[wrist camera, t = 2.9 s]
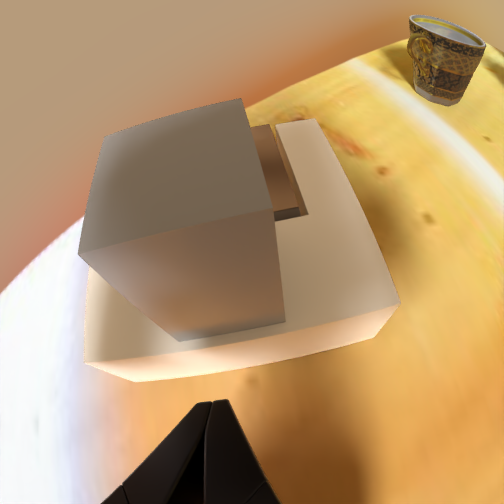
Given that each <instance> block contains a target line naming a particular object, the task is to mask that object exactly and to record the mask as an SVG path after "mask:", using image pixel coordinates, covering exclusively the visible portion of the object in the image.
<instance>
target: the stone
mask: <svg viewBox="0 0 504 504" xmlns="http://www.w3.org/2000/svg"><path fill="white" fill-rule="evenodd" d="M78 255H79V256H80V257H81V258H82V259H83V260H84V261H85V262H86V263H87V264H88V265H89V266H90V267H91V268H93V269H94V270H95V271H96V272H97V273H98V274H99V275H100V276H101V277H102V278H103V279H104V280H105V281H107V282H108V283H109V284H110V285H111V286H112V287H113V288H114V289H115V290H117V291H118V292H119V293H120V294H121V295H122V296H123V297H125V298H126V299H127V300H128V301H129V302H130V303H132V304H133V305H134V306H135V307H136V308H137V309H139V310H140V311H141V312H142V313H143V314H145V315H146V316H147V317H148V318H149V319H151V320H152V321H153V322H154V323H156V324H157V325H158V326H159V327H160V328H162V329H163V330H164V331H165V332H167V333H168V334H169V335H171V336H172V337H173V338H174V339H176V340H177V341H178V342H181V341H188V340H194V339H200V338H206V337H212V336H217V335H223V334H229V333H234V332H239V331H244V330H250V329H255V328H260V327H265V326H269V325H274V324H279V323H284V322H286V319H285V310H284V300H283V291H282V281H281V272H280V263H279V255H278V246H277V237H276V229H275V221H274V213H273V206H272V203H271V199H270V195H269V192H268V188H267V185H266V181H265V177H264V174H263V170H262V167H261V163H260V160H259V156H258V153H257V149H256V146H255V142H254V139H253V136H252V132H251V129H250V125H249V122H248V119H247V115H246V112H245V109H244V106H243V102H242V99H241V98H239V99H234V100H230V101H225V102H220V103H216V104H212V105H208V106H203V107H200V108H195V109H191V110H187V111H184V112H180V113H176V114H173V115H169V116H166V117H162V118H159V119H156V120H152V121H149V122H146V123H143V124H140V125H137V126H134V127H131V128H128V129H125V130H122V131H119V132H116V133H113V134H111V135H108V136H105V137H104V141H103V144H102V147H101V151H100V154H99V158H98V161H97V165H96V169H95V173H94V177H93V181H92V185H91V189H90V193H89V198H88V202H87V207H86V211H85V216H84V221H83V227H82V232H81V238H80V244H79V250H78Z"/></svg>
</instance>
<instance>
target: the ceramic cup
mask: <svg viewBox="0 0 504 504" xmlns="http://www.w3.org/2000/svg"><path fill="white" fill-rule="evenodd" d="M409 24H410V35H411V36H410V38H409V41H408V44H407V50H408V53H409V55H410V56H411V57H412V58H413V82H414V86H415V90H416V92H417V93H418V94H420V95H421V96H423V97H424V98H426V99H427V100H428V101H430V102H434V103H438V104H441V105H445V106H451V105H454V104H456V103H458V102H459V101H460V99H461V98H462V96H463V94H464V92H465V90H466V88H467V86H468V84H469V82H470V80H471V78H472V76H473V73H474V72H475V70H476V68H477V67H478V65H479V63H480V60H481V58H482V56H483V54H484V51H485V48H486V44H485V42H484V41H483V40H482V39H481V38H480V37H478V36H477V35H475V34H474V33H472V32H471V31H469V30H467V29H465V28H463V27H461V26H459V25H456V24H454V23H451V22H448V21H445V20H442V19H439V18H435V17H430V16H425V15H412V16H410V17H409Z"/></svg>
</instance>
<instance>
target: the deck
mask: <svg viewBox="0 0 504 504" xmlns="http://www.w3.org/2000/svg"><path fill="white" fill-rule="evenodd" d="M275 128H276V138H277V147H278V149H279V152H280V155H281V158H282V160H283V163H284V166H285V169H286V172H287V174H288V177H289V180H290V183H291V186H292V189H293V192H294V195H295V197H296V200H297V203H298V206H299V209H300V213H301V217H296V218H291V219H286V220H281V221H276V222H275V229H276V237H277V246H278V255H279V263H280V272H281V281H282V291H283V300H284V310H285V319H286V322H284V323H279V324H274V325H269V326H265V327H260V328H255V329H250V330H244V331H239V332H234V333H229V334H223V335H217V336H212V337H206V338H200V339H194V340H188V341H181V342H178V341H177V340H176V339H174V338H173V337H172V336H171V335H169V334H168V333H167V332H165V331H164V330H163V329H162V328H160V327H159V326H158V325H157V324H156V323H154V322H153V321H152V320H151V319H149V318H148V317H147V316H146V315H145V314H143V313H142V312H141V311H140V310H139V309H137V308H136V307H135V306H134V305H133V304H132V303H130V302H129V301H128V300H127V299H126V298H125V297H123V296H122V295H121V294H120V293H119V292H118V291H117V290H115V289H114V288H113V287H112V286H111V285H110V284H109V283H108V282H107V281H105V280H104V279H103V278H102V277H101V276H100V275H99V274H98V273H97V272H96V271H95V270H94V269H93V268H91V267H90V266H89V274H88V285H87V296H86V311H85V331H84V363H86V364H88V365H91V366H93V367H96V368H98V369H101V370H103V371H106V372H108V373H111V374H114V375H116V376H119V377H122V378H125V379H128V380H130V381H133V382H142V381H153V380H163V379H172V378H181V377H189V376H196V375H203V374H210V373H217V372H223V371H230V370H236V369H241V368H247V367H252V366H258V365H263V364H268V363H273V362H278V361H283V360H288V359H292V358H297V357H301V356H305V355H310V354H314V353H318V352H322V351H326V350H330V349H334V348H338V347H342V346H346V345H349V344H353V343H357V342H360V341H364V340H367V339H371V338H374V336H375V335H376V334H377V333H378V332H379V330H380V329H381V328H382V327H383V326H384V324H385V323H386V322H387V321H388V319H389V318H390V317H391V315H392V314H393V313H394V312H395V310H396V309H397V308H398V307H399V305H400V304H401V302H400V299H399V296H398V293H397V291H396V288H395V285H394V283H393V280H392V277H391V275H390V272H389V270H388V267H387V265H386V262H385V260H384V257H383V255H382V253H381V250H380V248H379V245H378V243H377V241H376V238H375V236H374V234H373V232H372V229H371V227H370V225H369V222H368V220H367V218H366V216H365V214H364V212H363V209H362V207H361V205H360V203H359V201H358V199H357V197H356V195H355V192H354V190H353V188H352V186H351V184H350V182H349V180H348V178H347V176H346V174H345V172H344V170H343V168H342V166H341V165H340V163H339V161H338V159H337V157H336V155H335V153H334V151H333V149H332V148H331V146H330V144H329V142H328V140H327V138H326V137H325V135H324V133H323V131H322V129H321V128H320V126H319V124H318V122H317V121H316V119H315V118H314V119H307V120H300V121H294V122H287V123H282V124H276V125H275Z"/></svg>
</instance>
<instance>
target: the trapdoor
mask: <svg viewBox="0 0 504 504" xmlns="http://www.w3.org/2000/svg"><path fill="white" fill-rule="evenodd" d="M250 129H251V132H252V136H253V139H254V142H255V146H256V149H257V153H258V156H259V160H260V163H261V167H262V170H263V174H264V177H265V181H266V185H267V188H268V192H269V195H270V199H271V203H272V206H273V213H274V221H275V222H276V221H281V220H286V219H291V218H296V217H301V213H300V209H299V206H298V203H297V200H296V197H295V195H294V192H293V189H292V186H291V183H290V180H289V177H288V174H287V172H286V169H285V166H284V163H283V160H282V158H281V155H280V152H279V149H278V147H277V144H276V141H275V139H274V136H273V133H272V130H271V128H270V125H269V124H267V125H261V126H256V127H251V128H250Z"/></svg>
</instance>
